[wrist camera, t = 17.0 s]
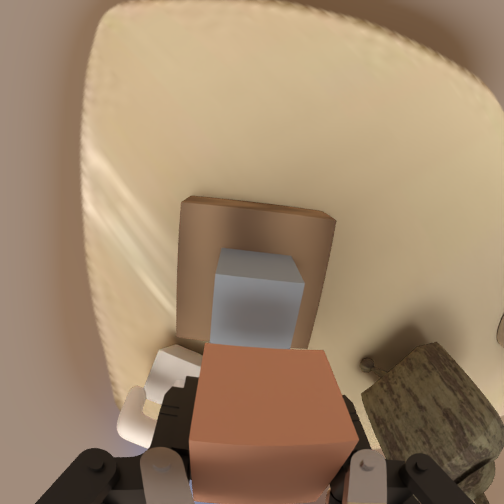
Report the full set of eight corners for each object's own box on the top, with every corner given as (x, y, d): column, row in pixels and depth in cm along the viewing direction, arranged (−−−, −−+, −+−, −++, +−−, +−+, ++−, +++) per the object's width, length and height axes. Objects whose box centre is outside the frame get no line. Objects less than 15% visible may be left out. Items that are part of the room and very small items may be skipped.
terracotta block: (299, 422, 12) (315, 501, 8) (202, 418, 12) (193, 500, 7) (323, 350, 11) (359, 440, 6) (205, 342, 10) (188, 440, 6)
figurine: (157, 323, 27) (104, 445, 12) (244, 359, 28) (246, 488, 14) (139, 370, 29) (97, 479, 14) (216, 400, 30) (208, 514, 16)
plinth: (321, 211, 24) (336, 220, 20) (299, 324, 27) (307, 348, 23) (191, 195, 23) (181, 202, 19) (184, 313, 27) (176, 337, 23)
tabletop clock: (343, 362, 29) (427, 571, 5) (405, 307, 27) (551, 486, 3) (397, 406, 32) (464, 546, 8) (446, 364, 31) (538, 491, 7)
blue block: (291, 255, 21) (304, 283, 16) (279, 316, 22) (288, 354, 18) (221, 247, 21) (215, 273, 16) (215, 309, 22) (209, 347, 17)
